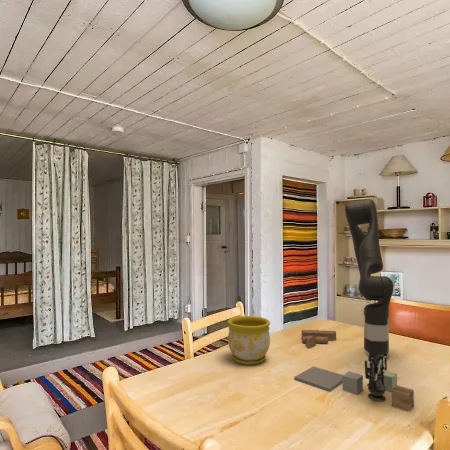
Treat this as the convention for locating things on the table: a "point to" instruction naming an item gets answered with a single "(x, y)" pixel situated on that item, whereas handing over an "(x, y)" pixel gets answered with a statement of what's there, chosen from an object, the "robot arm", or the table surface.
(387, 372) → the sage block
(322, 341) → the wooden block set
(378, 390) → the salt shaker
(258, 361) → the flowerpot
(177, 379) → the table surface
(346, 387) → the grey block
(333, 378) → the grey tile
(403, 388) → the walnut block
